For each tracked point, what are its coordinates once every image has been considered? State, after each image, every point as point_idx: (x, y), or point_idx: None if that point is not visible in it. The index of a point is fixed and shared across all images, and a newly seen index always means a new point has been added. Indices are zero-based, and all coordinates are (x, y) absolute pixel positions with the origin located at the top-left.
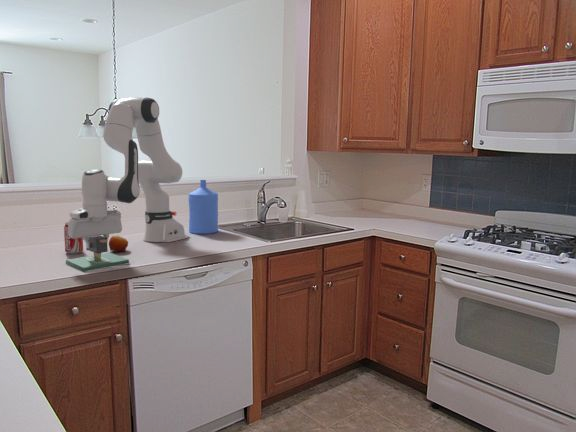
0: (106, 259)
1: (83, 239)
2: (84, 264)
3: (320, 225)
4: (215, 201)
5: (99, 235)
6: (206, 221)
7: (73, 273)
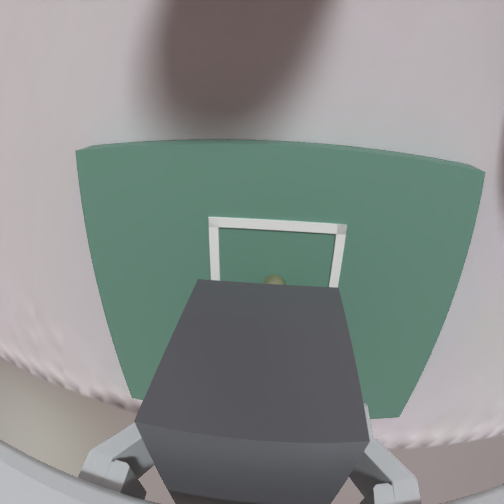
0: None
1: (95, 451)
2: (149, 358)
3: None
4: None
5: (339, 488)
6: None
7: (95, 369)
